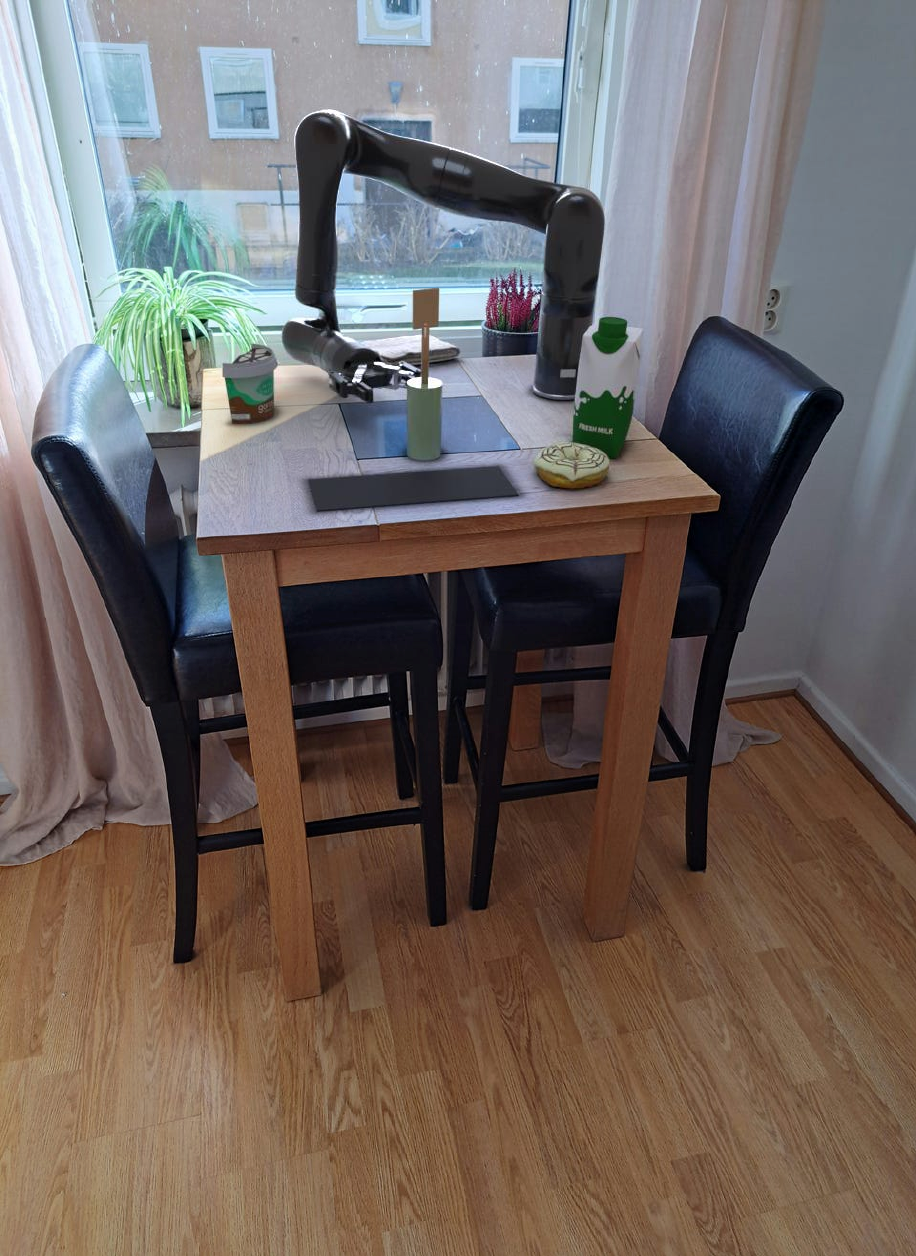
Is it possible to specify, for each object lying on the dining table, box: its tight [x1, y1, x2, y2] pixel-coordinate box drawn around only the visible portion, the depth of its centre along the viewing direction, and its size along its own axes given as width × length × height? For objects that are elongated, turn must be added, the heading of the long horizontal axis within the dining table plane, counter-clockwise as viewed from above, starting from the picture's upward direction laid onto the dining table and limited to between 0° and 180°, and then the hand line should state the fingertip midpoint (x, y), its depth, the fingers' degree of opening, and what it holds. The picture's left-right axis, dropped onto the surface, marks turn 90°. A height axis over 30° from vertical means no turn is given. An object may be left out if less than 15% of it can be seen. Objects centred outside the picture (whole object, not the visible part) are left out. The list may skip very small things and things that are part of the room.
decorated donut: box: [533, 441, 611, 489], centre depth 128 cm, size 10×11×4 cm
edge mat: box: [307, 465, 520, 512], centre depth 124 cm, size 28×10×1 cm, turn 104°
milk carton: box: [572, 316, 644, 460], centre depth 134 cm, size 9×9×20 cm
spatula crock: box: [406, 287, 444, 462], centre depth 128 cm, size 5×5×24 cm
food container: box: [221, 342, 279, 425], centre depth 143 cm, size 12×6×10 cm, turn 168°
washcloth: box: [359, 334, 461, 367], centre depth 174 cm, size 12×18×3 cm, turn 123°
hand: (396, 393), depth 137 cm, fingers open, 8 cm apart
